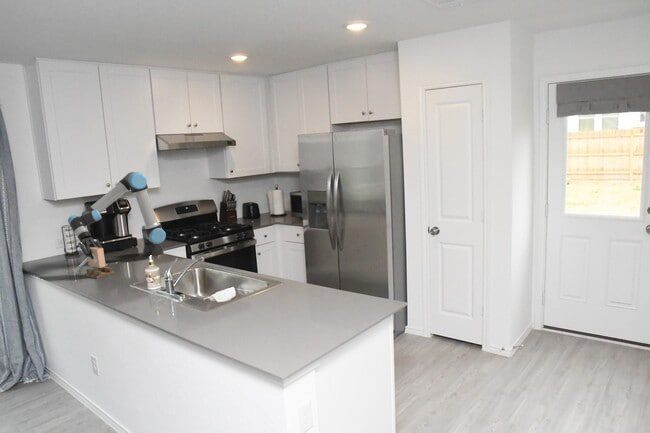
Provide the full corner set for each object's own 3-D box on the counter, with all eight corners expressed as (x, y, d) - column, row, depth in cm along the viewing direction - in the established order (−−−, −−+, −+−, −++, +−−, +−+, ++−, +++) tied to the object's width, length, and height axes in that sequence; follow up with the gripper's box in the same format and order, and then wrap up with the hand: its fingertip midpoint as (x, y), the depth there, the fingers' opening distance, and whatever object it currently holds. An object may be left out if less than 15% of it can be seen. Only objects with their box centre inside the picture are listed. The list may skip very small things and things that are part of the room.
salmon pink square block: (90, 265, 304) (87, 248, 302) (95, 264, 307) (93, 246, 305) (99, 267, 297) (97, 249, 295) (105, 266, 300) (103, 248, 298)
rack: (85, 275, 303) (84, 270, 302) (102, 271, 313) (101, 265, 312) (97, 278, 294) (96, 272, 294) (114, 273, 304) (113, 267, 303)
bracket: (95, 260, 336) (89, 250, 330) (81, 281, 318) (75, 270, 312) (91, 261, 336) (85, 250, 330) (77, 281, 319) (70, 271, 313)
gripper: (94, 235, 315) (110, 261, 308) (68, 241, 301) (85, 267, 295) (97, 228, 311) (114, 254, 304) (71, 233, 297) (88, 260, 291)
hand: (100, 261), depth 299 cm, fingers closed on salmon pink square block, 4 cm apart
